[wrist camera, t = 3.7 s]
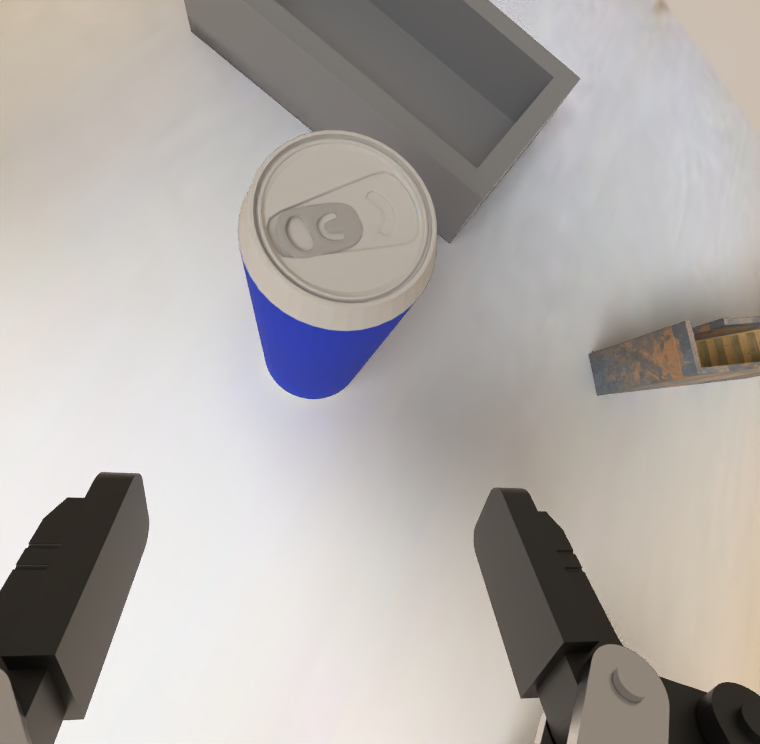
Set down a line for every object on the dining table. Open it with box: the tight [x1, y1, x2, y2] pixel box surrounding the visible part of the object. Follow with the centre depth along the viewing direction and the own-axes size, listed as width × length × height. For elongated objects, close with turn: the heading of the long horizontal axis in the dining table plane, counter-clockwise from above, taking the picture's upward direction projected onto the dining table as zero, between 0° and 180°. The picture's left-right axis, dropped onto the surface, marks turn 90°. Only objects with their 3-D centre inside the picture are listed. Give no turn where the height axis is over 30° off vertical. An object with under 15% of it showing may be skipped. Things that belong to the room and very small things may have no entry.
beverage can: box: [238, 130, 437, 399], centre depth 18 cm, size 5×5×15 cm
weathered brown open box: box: [589, 316, 760, 395], centre depth 26 cm, size 11×3×10 cm, turn 97°
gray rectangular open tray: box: [184, 0, 580, 243], centre depth 27 cm, size 20×10×5 cm, turn 53°
